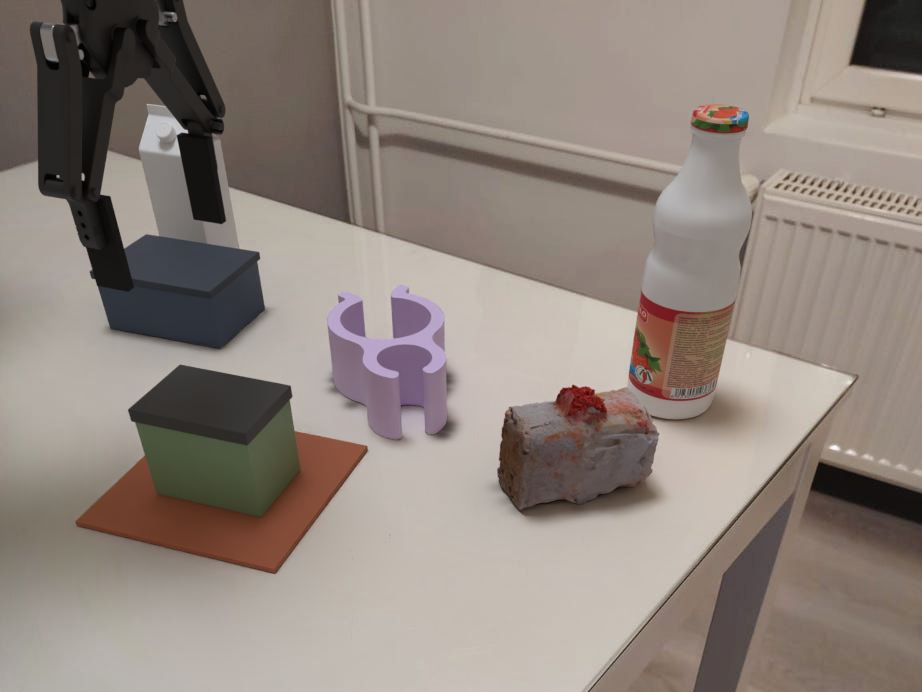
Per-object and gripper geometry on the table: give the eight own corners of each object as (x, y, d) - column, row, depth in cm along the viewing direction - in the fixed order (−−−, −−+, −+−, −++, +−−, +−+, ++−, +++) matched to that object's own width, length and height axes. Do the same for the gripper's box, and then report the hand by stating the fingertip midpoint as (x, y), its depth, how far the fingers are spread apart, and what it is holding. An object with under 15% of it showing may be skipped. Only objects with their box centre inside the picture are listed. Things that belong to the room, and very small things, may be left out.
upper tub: (153, 494, 84) (127, 409, 77) (200, 447, 89) (179, 364, 83) (262, 519, 81) (245, 433, 75) (303, 469, 87) (291, 385, 81)
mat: (76, 525, 81) (74, 521, 81) (193, 414, 95) (192, 410, 94) (275, 573, 77) (274, 569, 77) (368, 449, 90) (367, 445, 90)
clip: (473, 428, 93) (474, 367, 88) (355, 445, 91) (349, 383, 86) (428, 339, 107) (426, 282, 102) (323, 352, 104) (316, 294, 99)
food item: (617, 449, 91) (630, 359, 84) (655, 494, 86) (672, 402, 79) (492, 475, 87) (494, 384, 80) (522, 523, 82) (528, 430, 75)
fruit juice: (701, 429, 94) (766, 134, 74) (615, 410, 96) (654, 119, 76) (720, 387, 100) (784, 103, 80) (638, 370, 102) (680, 90, 82)
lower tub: (106, 329, 108) (88, 271, 103) (159, 289, 115) (146, 233, 110) (221, 350, 104) (209, 291, 99) (268, 308, 112) (259, 251, 107)
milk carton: (196, 252, 124) (163, 96, 110) (242, 259, 122) (214, 102, 108) (167, 272, 119) (129, 112, 105) (214, 281, 117) (181, 119, 104)
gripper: (5, -53, 47) (114, 329, 62) (239, -110, 64) (280, 203, 79) (-112, -64, 49) (23, 311, 64) (147, -117, 65) (205, 191, 80)
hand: (165, 252), depth 71 cm, fingers open, 13 cm apart
